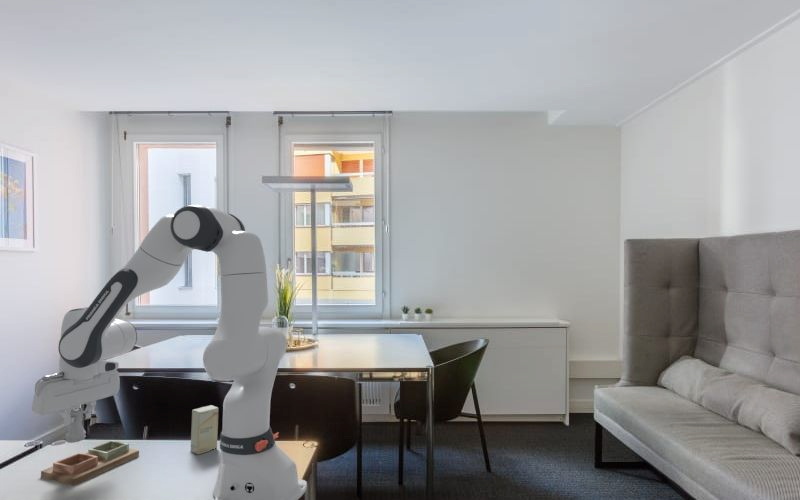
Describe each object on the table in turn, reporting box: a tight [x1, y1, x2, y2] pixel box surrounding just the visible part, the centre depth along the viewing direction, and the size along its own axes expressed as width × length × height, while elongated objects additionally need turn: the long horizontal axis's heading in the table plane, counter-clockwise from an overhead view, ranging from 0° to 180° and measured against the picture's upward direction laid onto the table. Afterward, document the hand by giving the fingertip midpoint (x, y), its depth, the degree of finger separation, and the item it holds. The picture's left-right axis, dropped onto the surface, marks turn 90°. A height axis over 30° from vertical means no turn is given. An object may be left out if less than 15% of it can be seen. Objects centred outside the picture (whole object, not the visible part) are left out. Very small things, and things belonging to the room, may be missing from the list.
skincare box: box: [190, 404, 219, 455], centre depth 128 cm, size 6×4×12 cm
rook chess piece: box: [64, 407, 87, 444], centre depth 113 cm, size 4×4×8 cm
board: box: [40, 439, 140, 486], centre depth 117 cm, size 12×18×4 cm, turn 161°
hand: (77, 421), depth 113 cm, fingers closed on rook chess piece, 3 cm apart
